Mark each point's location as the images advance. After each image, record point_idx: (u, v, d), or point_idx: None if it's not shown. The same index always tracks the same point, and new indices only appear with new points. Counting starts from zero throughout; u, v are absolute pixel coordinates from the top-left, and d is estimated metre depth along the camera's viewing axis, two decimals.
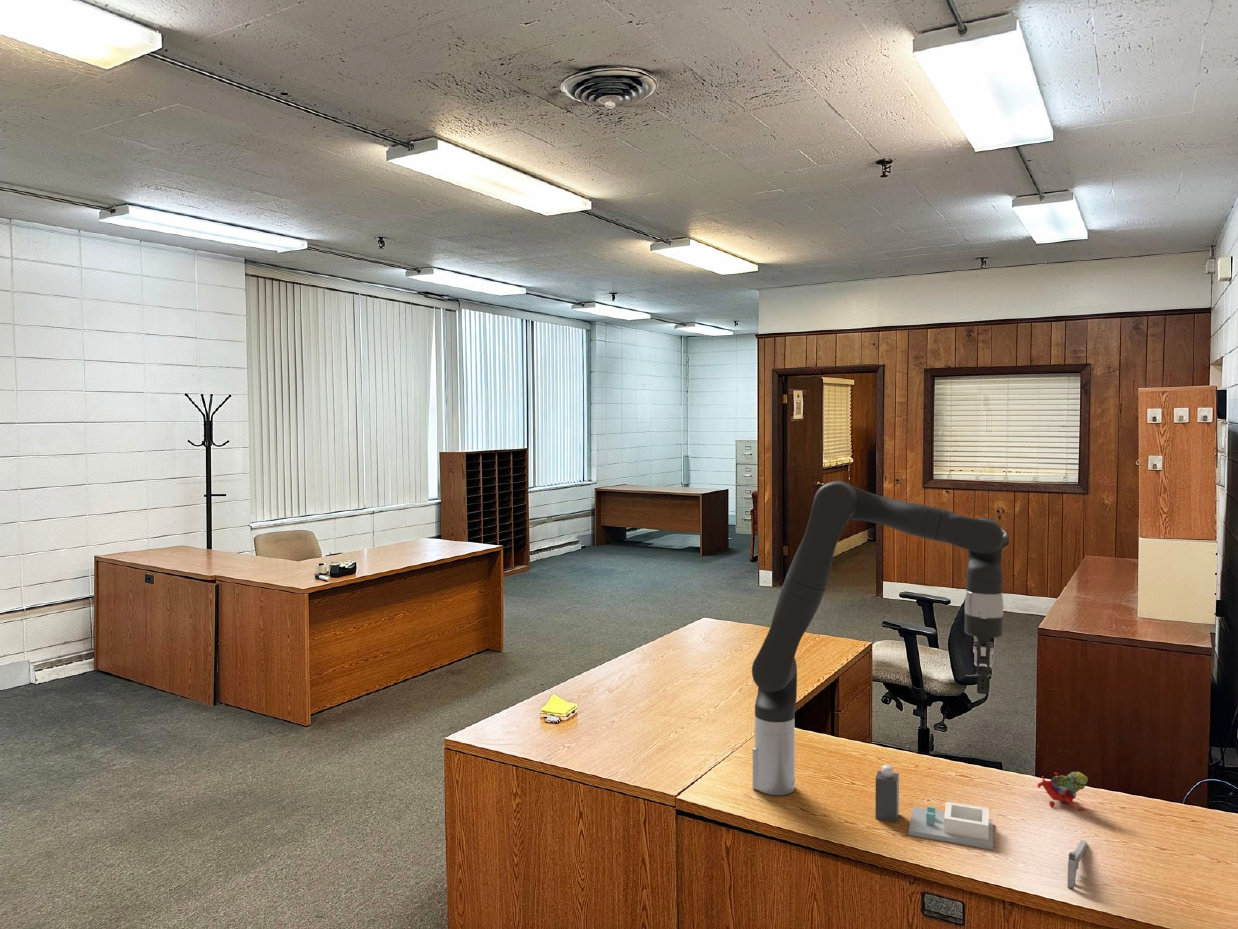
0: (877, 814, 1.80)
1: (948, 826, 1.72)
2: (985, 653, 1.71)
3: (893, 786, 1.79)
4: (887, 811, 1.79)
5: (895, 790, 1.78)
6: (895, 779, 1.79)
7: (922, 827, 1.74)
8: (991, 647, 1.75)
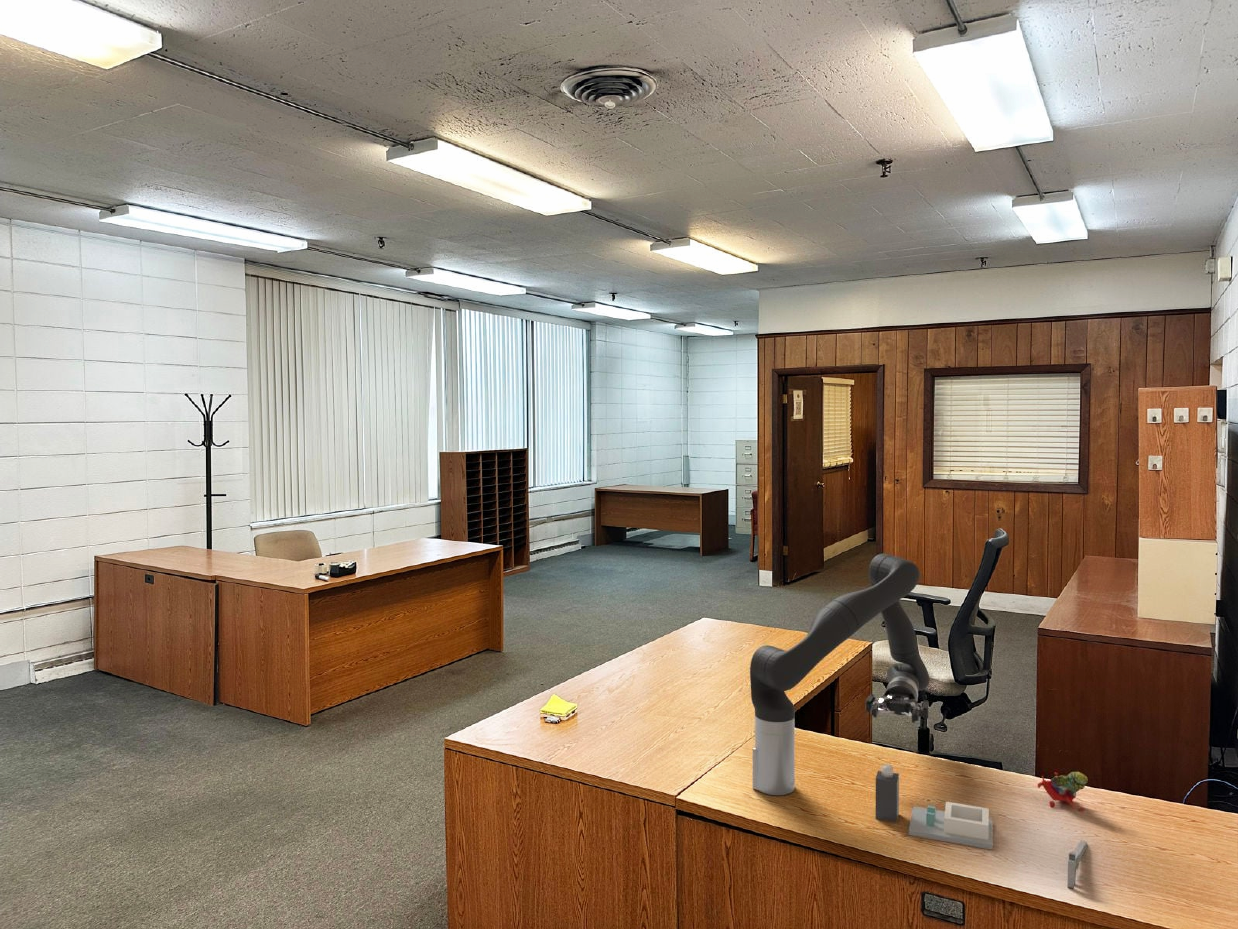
0: (877, 814, 1.80)
1: (948, 826, 1.72)
2: None
3: (893, 786, 1.79)
4: (887, 811, 1.79)
5: (895, 790, 1.78)
6: (895, 779, 1.79)
7: (922, 827, 1.74)
8: None
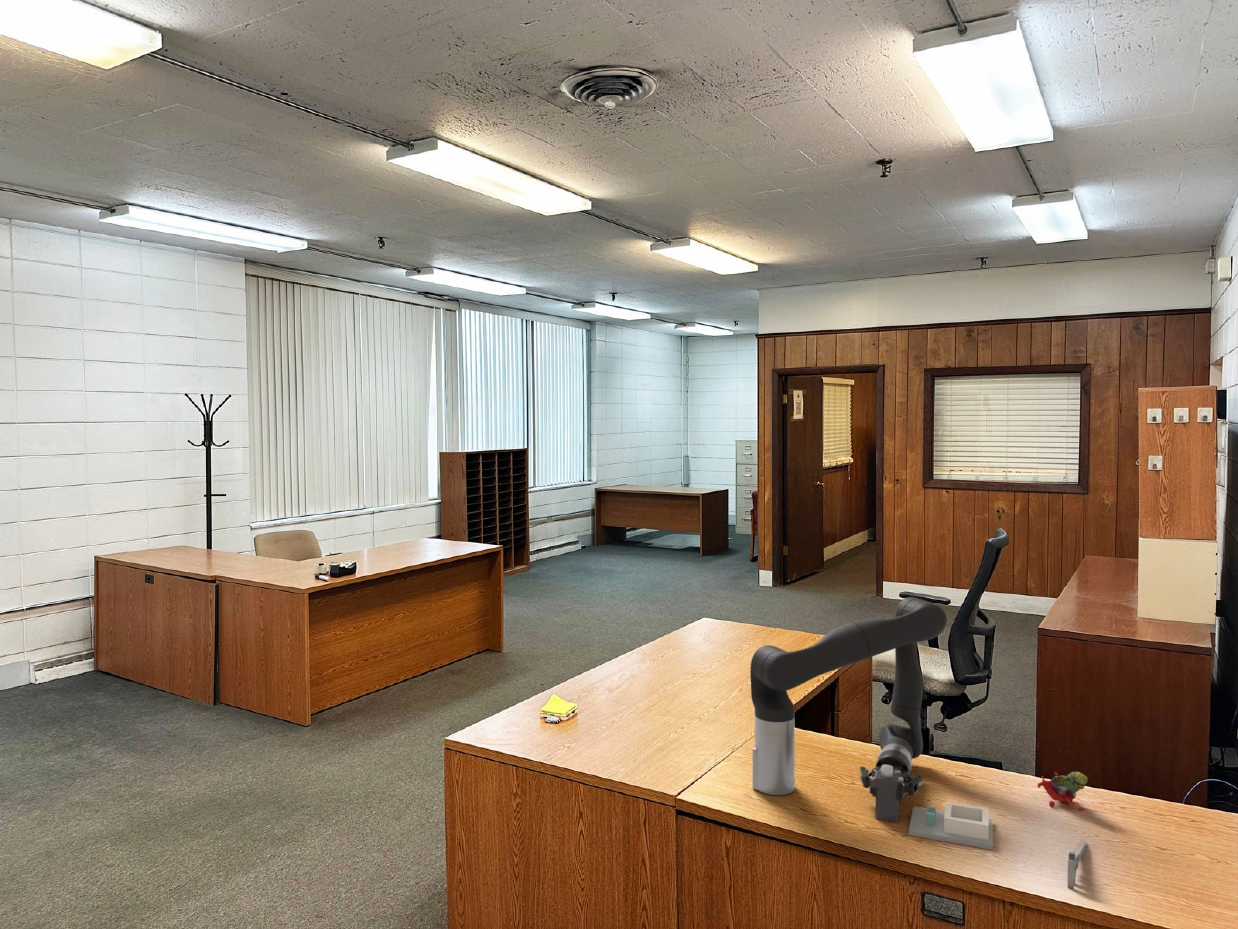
0: (877, 814, 1.80)
1: (948, 826, 1.72)
2: (920, 785, 1.84)
3: (893, 786, 1.79)
4: (887, 811, 1.79)
5: (895, 790, 1.78)
6: (895, 779, 1.79)
7: (922, 827, 1.74)
8: None
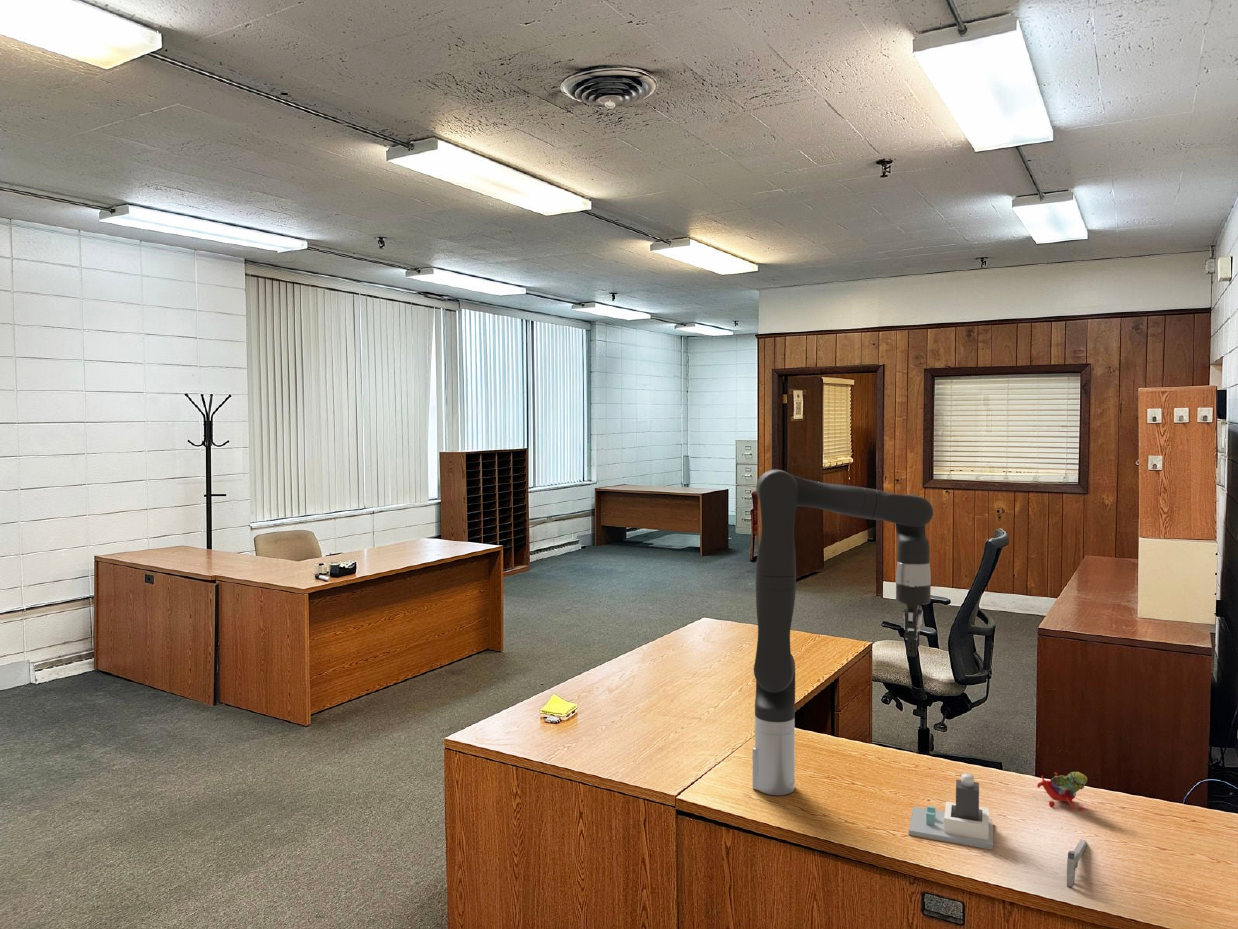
0: None
1: (948, 826, 1.72)
2: (912, 618, 1.85)
3: (975, 796, 1.71)
4: None
5: (977, 800, 1.71)
6: (976, 788, 1.72)
7: (922, 827, 1.74)
8: (919, 613, 1.90)
